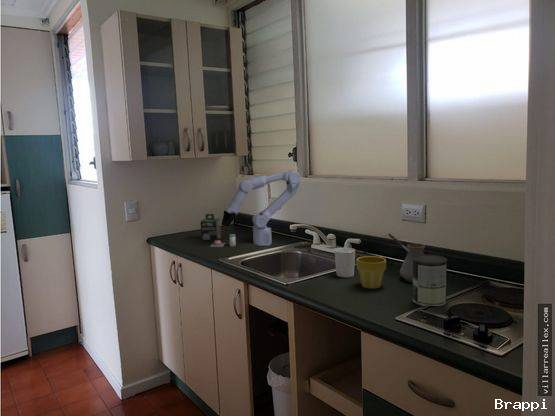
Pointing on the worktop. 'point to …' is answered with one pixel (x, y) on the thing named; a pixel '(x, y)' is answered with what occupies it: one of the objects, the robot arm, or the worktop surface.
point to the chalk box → (210, 228)
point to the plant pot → (371, 270)
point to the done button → (218, 242)
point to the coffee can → (429, 280)
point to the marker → (232, 240)
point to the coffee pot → (409, 258)
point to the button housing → (217, 245)
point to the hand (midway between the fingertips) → (224, 225)
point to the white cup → (345, 262)
